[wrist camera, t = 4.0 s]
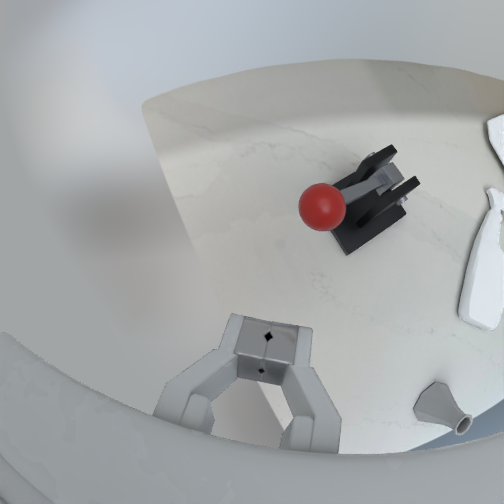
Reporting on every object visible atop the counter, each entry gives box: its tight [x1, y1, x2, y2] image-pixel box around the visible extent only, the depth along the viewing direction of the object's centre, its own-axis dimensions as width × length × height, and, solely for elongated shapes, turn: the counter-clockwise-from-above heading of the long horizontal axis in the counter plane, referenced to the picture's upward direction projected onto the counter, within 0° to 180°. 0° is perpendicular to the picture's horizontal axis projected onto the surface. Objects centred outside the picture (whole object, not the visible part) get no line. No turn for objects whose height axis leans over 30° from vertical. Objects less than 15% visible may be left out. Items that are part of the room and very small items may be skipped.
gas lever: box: [299, 162, 404, 231], centre depth 22 cm, size 14×4×4 cm, turn 121°
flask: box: [414, 382, 473, 435], centre depth 26 cm, size 7×7×10 cm
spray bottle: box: [458, 188, 504, 331], centre depth 31 cm, size 3×11×24 cm
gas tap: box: [330, 144, 420, 255], centre depth 30 cm, size 11×9×13 cm
